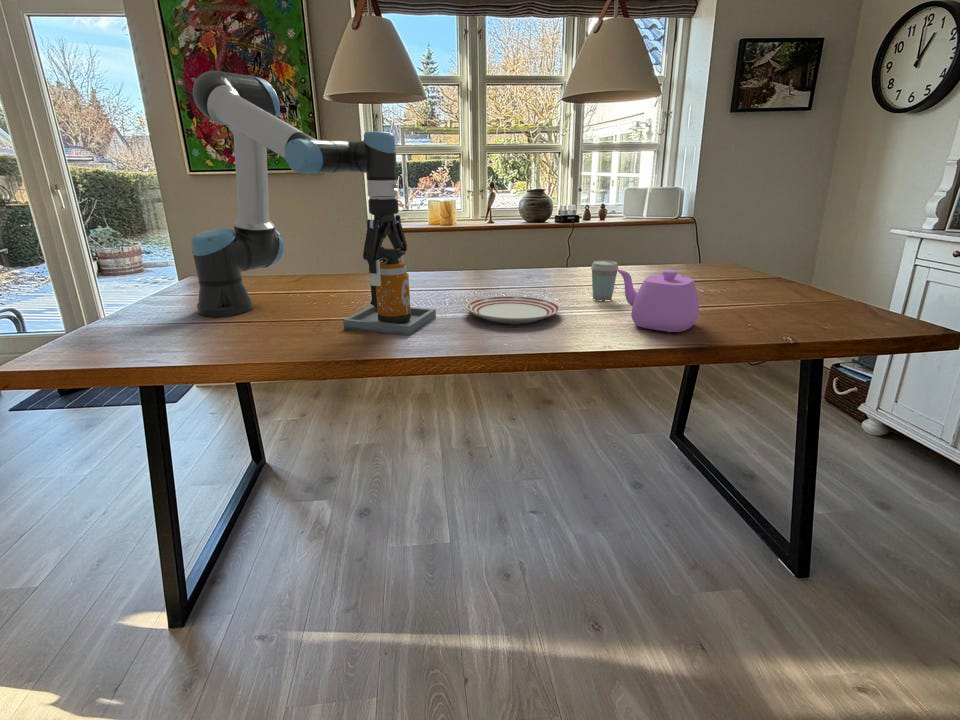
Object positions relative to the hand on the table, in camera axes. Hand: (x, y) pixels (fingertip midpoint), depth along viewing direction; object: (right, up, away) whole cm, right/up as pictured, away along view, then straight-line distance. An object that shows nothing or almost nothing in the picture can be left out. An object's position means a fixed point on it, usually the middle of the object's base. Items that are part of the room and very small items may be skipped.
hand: (388, 280), depth 141 cm
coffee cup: (+64, -2, +28) cm, 70 cm away
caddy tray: (0, -11, +4) cm, 12 cm away
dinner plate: (+34, -9, +12) cm, 37 cm away
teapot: (+74, -12, +1) cm, 75 cm away
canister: (0, -11, +4) cm, 11 cm away
